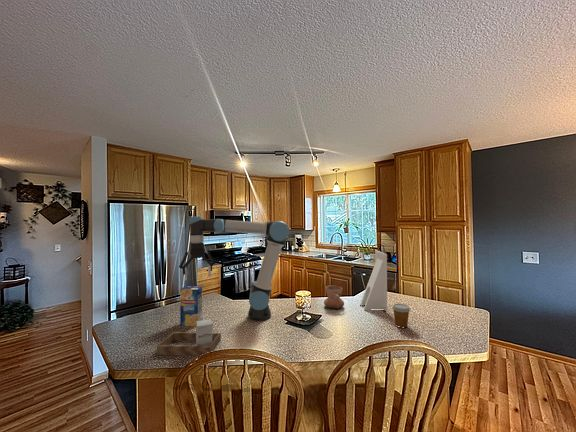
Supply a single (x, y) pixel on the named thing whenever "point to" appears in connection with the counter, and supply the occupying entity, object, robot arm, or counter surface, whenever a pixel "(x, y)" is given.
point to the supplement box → (204, 332)
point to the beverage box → (190, 305)
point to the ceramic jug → (333, 297)
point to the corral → (168, 349)
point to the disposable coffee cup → (401, 314)
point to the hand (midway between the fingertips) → (198, 278)
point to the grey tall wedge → (377, 285)
